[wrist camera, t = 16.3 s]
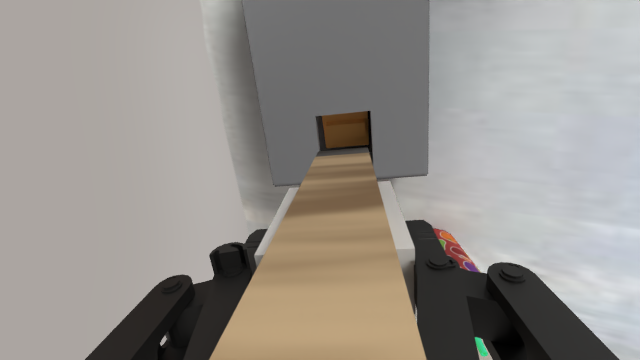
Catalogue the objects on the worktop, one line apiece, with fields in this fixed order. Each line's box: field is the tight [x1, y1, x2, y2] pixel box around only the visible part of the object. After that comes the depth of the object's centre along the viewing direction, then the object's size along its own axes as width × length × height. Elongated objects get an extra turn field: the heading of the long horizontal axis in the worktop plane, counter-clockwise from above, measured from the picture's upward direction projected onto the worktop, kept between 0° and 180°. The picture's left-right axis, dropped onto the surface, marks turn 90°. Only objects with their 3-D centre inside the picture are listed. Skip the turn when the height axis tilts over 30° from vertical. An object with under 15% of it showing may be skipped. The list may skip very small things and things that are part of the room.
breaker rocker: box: [322, 111, 369, 148], centre depth 35 cm, size 24×15×2 cm, turn 6°
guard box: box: [242, 0, 429, 187], centre depth 35 cm, size 28×18×10 cm, turn 6°
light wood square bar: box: [209, 147, 426, 360], centre depth 13 cm, size 4×4×24 cm
